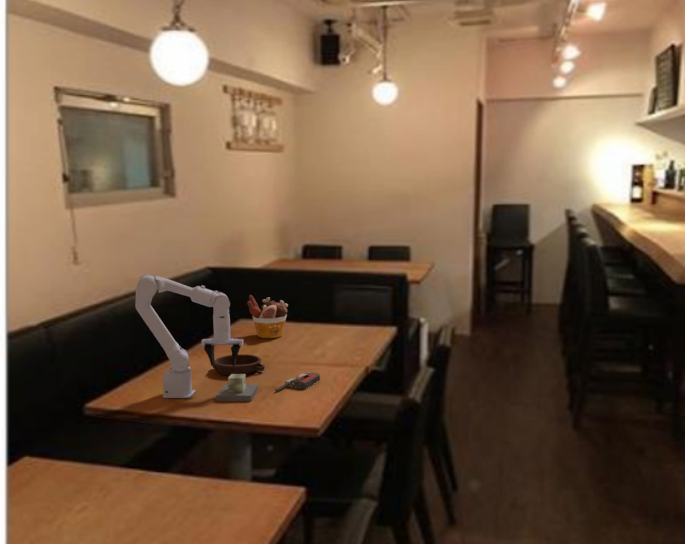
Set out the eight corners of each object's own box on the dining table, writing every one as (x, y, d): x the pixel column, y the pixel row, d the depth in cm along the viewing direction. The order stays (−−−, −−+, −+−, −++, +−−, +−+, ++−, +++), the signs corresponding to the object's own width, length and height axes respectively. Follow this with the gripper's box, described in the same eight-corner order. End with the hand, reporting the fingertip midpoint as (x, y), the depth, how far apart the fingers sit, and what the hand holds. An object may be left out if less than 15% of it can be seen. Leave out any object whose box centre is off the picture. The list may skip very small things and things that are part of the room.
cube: (228, 392, 229) (227, 378, 229) (232, 387, 234) (231, 373, 234) (242, 392, 229) (242, 378, 228) (246, 387, 234) (245, 374, 233)
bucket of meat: (293, 332, 324) (292, 292, 322) (284, 341, 308) (283, 298, 306) (254, 331, 328) (252, 291, 325) (243, 339, 312) (241, 298, 309)
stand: (216, 401, 227) (215, 395, 226) (225, 389, 238) (225, 384, 238) (250, 401, 226) (250, 395, 225) (258, 390, 237) (258, 384, 237)
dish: (255, 380, 250) (255, 367, 249) (202, 376, 256) (201, 364, 255) (272, 367, 267) (272, 355, 266) (221, 364, 272) (221, 352, 272)
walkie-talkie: (302, 378, 252) (273, 393, 235) (302, 366, 251) (272, 381, 234) (322, 381, 248) (294, 397, 231) (322, 369, 247) (293, 384, 230)
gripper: (198, 330, 231) (200, 368, 233) (239, 330, 230) (240, 368, 232) (204, 325, 238) (205, 362, 240) (244, 325, 237) (245, 362, 238)
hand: (223, 365), depth 236 cm, fingers open, 7 cm apart
